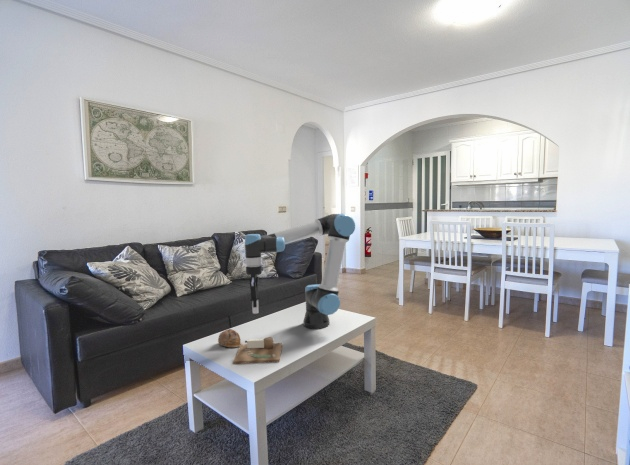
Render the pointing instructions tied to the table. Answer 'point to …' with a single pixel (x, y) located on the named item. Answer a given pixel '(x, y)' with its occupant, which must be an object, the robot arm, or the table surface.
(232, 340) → the seashell
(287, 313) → the table surface
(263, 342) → the lever
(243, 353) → the dial board
